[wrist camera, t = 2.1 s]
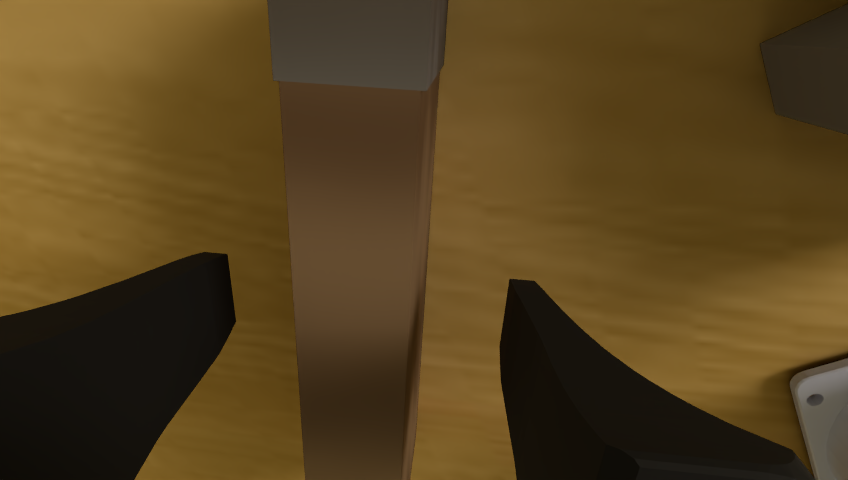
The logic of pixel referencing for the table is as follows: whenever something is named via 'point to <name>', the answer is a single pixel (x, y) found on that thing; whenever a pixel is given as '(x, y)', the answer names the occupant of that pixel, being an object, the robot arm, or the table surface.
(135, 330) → the robot arm
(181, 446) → the table surface
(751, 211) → the table surface
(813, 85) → the cream rectangular block
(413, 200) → the rail
